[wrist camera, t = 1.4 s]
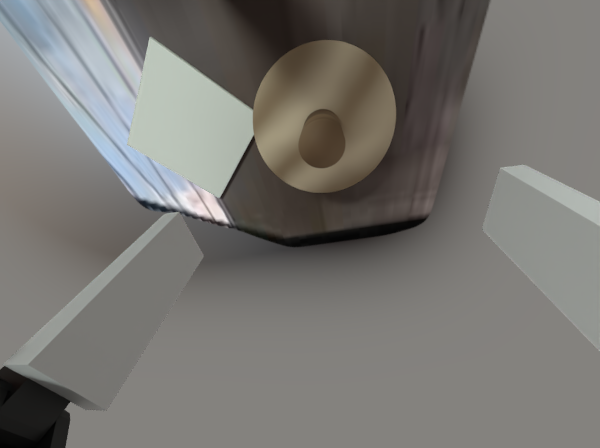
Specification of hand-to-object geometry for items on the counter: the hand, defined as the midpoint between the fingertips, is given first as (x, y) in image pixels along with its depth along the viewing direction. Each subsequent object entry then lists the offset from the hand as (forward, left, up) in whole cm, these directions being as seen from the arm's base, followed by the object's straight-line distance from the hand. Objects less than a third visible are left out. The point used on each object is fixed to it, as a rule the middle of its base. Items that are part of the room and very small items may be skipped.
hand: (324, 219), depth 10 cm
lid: (0, 0, -19) cm, 19 cm away
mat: (-14, -12, -25) cm, 31 cm away
